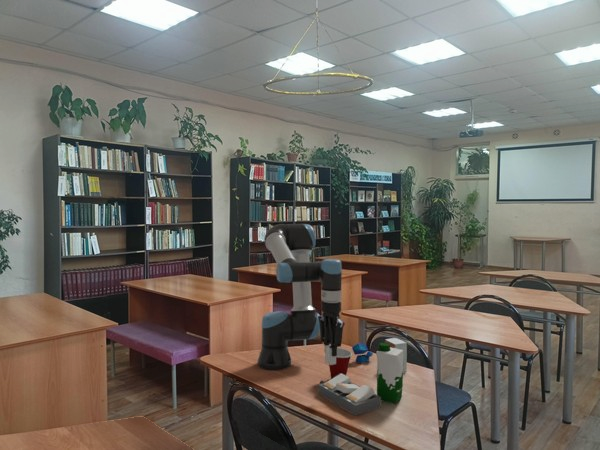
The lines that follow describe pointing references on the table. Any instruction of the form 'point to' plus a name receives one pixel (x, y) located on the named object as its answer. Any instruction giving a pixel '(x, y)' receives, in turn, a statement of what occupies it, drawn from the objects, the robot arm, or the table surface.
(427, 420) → the table surface
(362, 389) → the rocker
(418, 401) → the table surface
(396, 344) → the small box
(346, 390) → the rocker
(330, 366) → the plastic cup
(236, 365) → the table surface
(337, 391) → the grey compartment tray
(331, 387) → the rocker
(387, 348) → the milk carton
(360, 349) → the blue toy figurine
